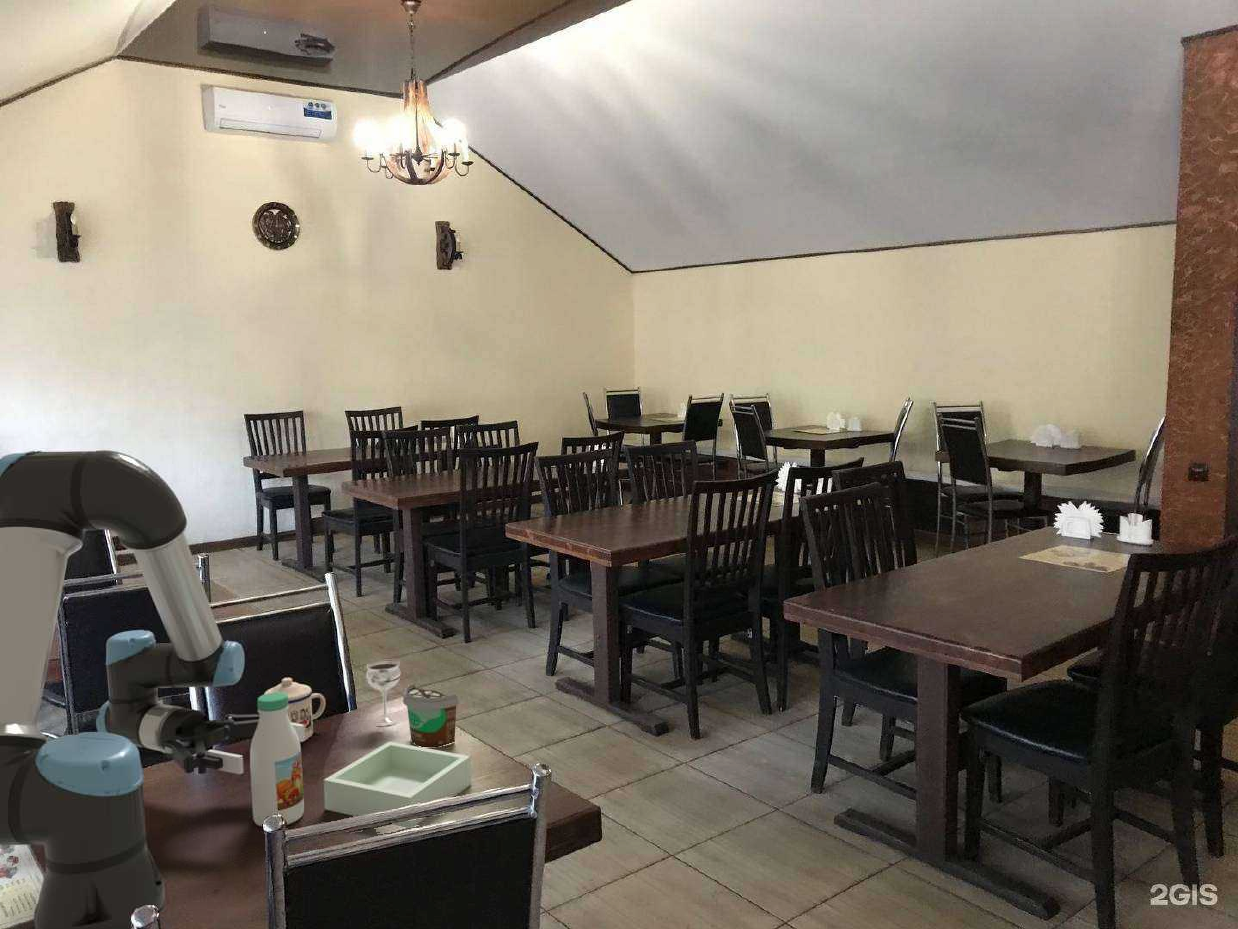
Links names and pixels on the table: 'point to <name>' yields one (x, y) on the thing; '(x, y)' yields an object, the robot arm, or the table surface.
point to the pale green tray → (396, 780)
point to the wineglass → (383, 678)
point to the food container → (430, 716)
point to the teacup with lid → (299, 703)
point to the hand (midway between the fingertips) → (273, 748)
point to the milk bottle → (276, 762)
